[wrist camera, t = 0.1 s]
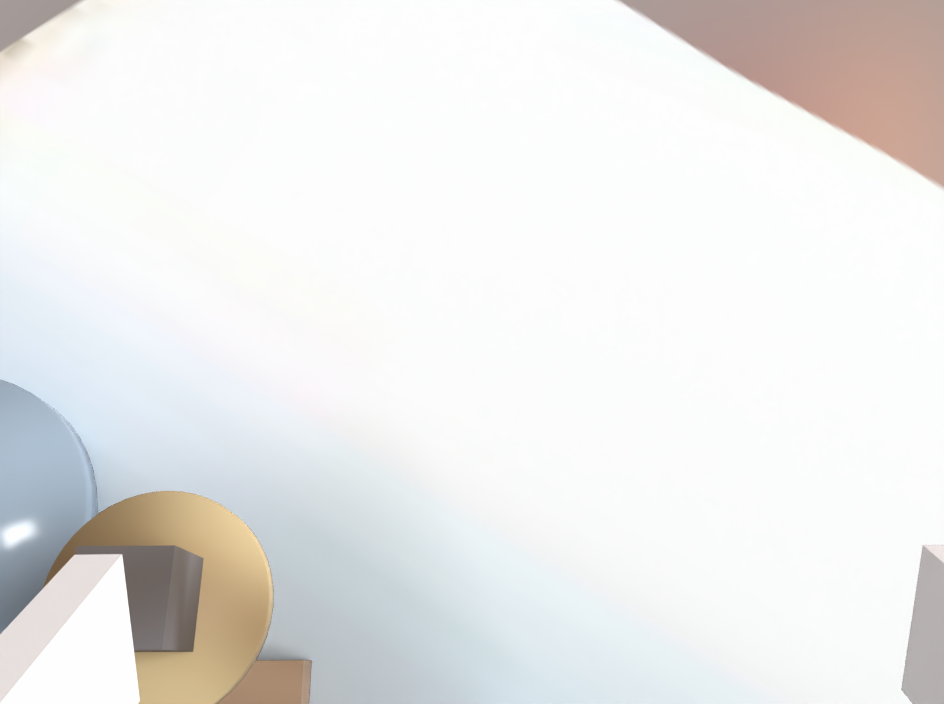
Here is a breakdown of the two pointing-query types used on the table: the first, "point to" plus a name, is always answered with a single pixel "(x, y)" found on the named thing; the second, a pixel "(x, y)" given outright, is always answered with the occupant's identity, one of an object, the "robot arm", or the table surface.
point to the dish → (37, 494)
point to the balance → (193, 601)
